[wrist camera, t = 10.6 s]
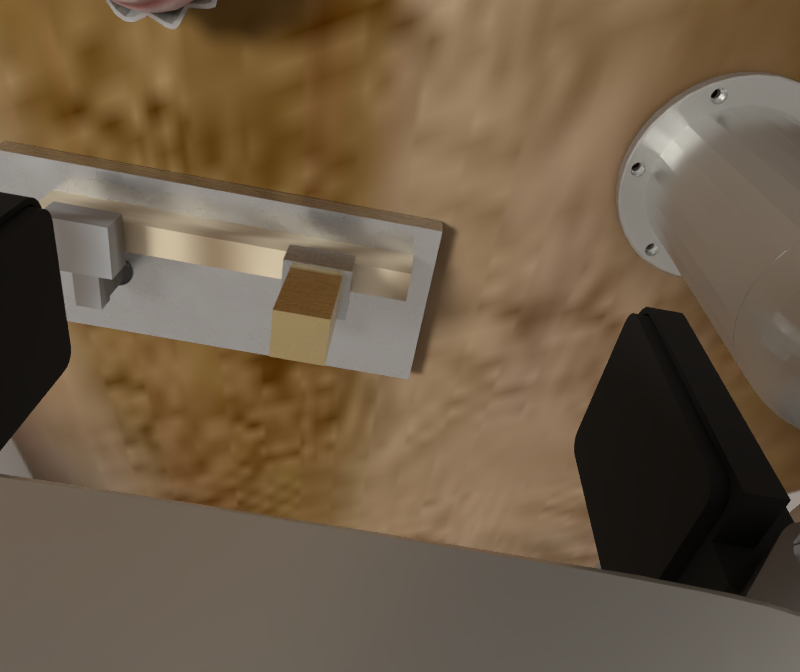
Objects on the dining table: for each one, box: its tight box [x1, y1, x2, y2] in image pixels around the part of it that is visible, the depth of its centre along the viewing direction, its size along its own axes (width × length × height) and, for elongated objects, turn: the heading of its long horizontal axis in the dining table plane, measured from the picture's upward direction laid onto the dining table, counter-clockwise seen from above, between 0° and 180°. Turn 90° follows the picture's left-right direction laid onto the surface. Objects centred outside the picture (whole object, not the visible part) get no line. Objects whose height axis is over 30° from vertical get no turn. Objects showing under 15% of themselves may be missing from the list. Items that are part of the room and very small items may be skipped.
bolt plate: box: [0, 141, 443, 380], centre depth 44 cm, size 28×12×2 cm, turn 80°
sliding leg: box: [269, 244, 356, 366], centre depth 39 cm, size 4×6×9 cm, turn 170°
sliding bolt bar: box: [39, 190, 413, 310], centre depth 41 cm, size 23×6×5 cm, turn 80°
